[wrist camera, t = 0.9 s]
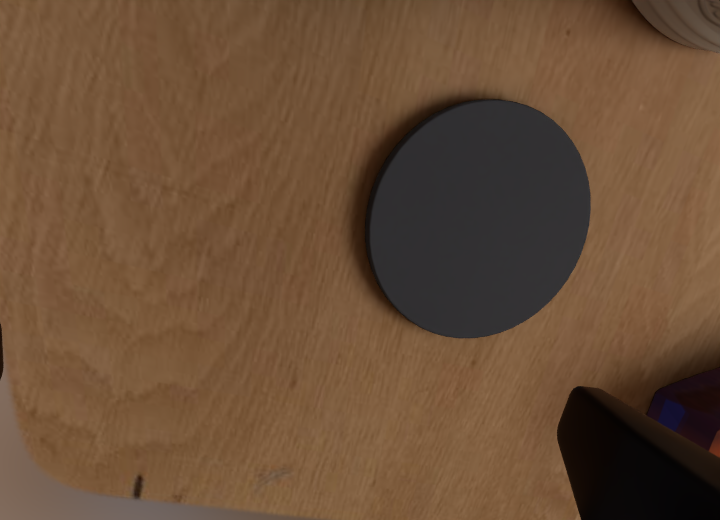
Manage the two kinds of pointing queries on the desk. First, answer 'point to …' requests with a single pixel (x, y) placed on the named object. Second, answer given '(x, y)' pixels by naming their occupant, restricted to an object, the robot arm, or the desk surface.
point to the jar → (685, 21)
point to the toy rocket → (691, 409)
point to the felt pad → (477, 218)
